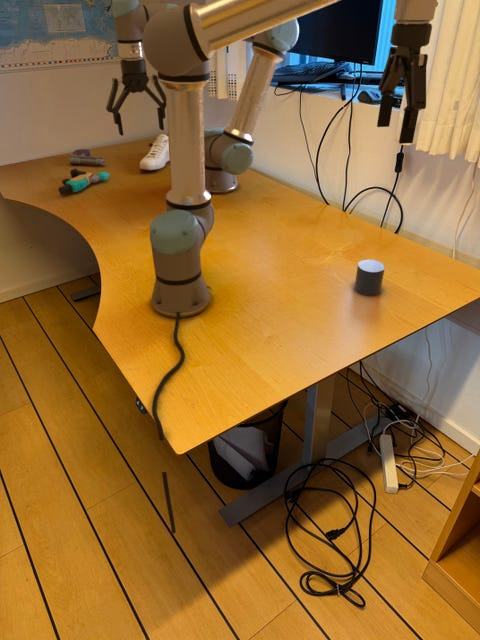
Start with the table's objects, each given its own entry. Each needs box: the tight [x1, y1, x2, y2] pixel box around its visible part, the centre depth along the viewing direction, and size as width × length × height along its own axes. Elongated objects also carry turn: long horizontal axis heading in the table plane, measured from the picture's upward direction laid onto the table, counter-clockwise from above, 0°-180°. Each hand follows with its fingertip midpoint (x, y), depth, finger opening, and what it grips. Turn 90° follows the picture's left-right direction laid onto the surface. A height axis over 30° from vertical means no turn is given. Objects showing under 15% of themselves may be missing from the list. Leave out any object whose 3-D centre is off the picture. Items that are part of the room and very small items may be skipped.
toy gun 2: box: [58, 168, 111, 196], centre depth 194 cm, size 4×26×15 cm
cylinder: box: [354, 258, 386, 297], centre depth 128 cm, size 7×7×7 cm
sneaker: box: [139, 133, 170, 171], centre depth 214 cm, size 10×29×12 cm, turn 163°
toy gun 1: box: [67, 148, 106, 167], centre depth 221 cm, size 4×19×15 cm
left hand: (393, 134), depth 106 cm, fingers open, 13 cm apart
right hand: (141, 131), depth 156 cm, fingers open, 13 cm apart
